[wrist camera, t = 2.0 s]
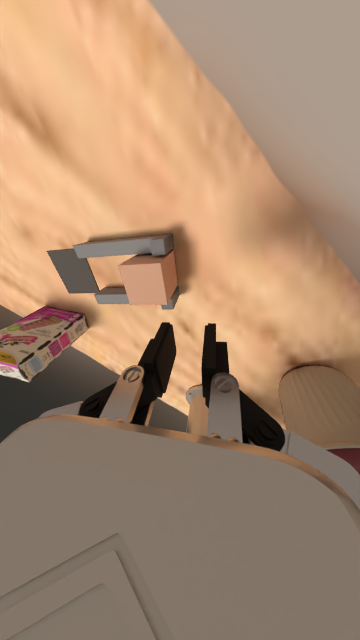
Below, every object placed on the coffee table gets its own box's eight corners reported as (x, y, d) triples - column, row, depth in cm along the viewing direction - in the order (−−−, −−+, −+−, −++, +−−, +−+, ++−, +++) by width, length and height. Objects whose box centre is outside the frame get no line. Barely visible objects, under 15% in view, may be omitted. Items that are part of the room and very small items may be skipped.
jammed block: (177, 284, 30) (167, 304, 24) (147, 285, 31) (130, 304, 25) (173, 250, 27) (160, 263, 20) (140, 252, 28) (117, 265, 22)
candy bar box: (84, 312, 39) (17, 366, 26) (89, 328, 42) (31, 383, 29) (43, 304, 40) (-43, 351, 27) (50, 320, 43) (-24, 370, 30)
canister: (250, 374, 40) (276, 494, 23) (333, 339, 31) (478, 499, 14) (290, 408, 45) (335, 528, 28) (372, 387, 36) (516, 549, 19)
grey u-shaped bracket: (179, 295, 32) (173, 309, 27) (107, 296, 35) (91, 309, 30) (172, 233, 26) (163, 238, 21) (86, 242, 29) (63, 247, 24)
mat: (100, 292, 35) (99, 292, 35) (69, 293, 36) (69, 293, 36) (81, 248, 30) (81, 248, 30) (47, 251, 31) (46, 251, 31)
